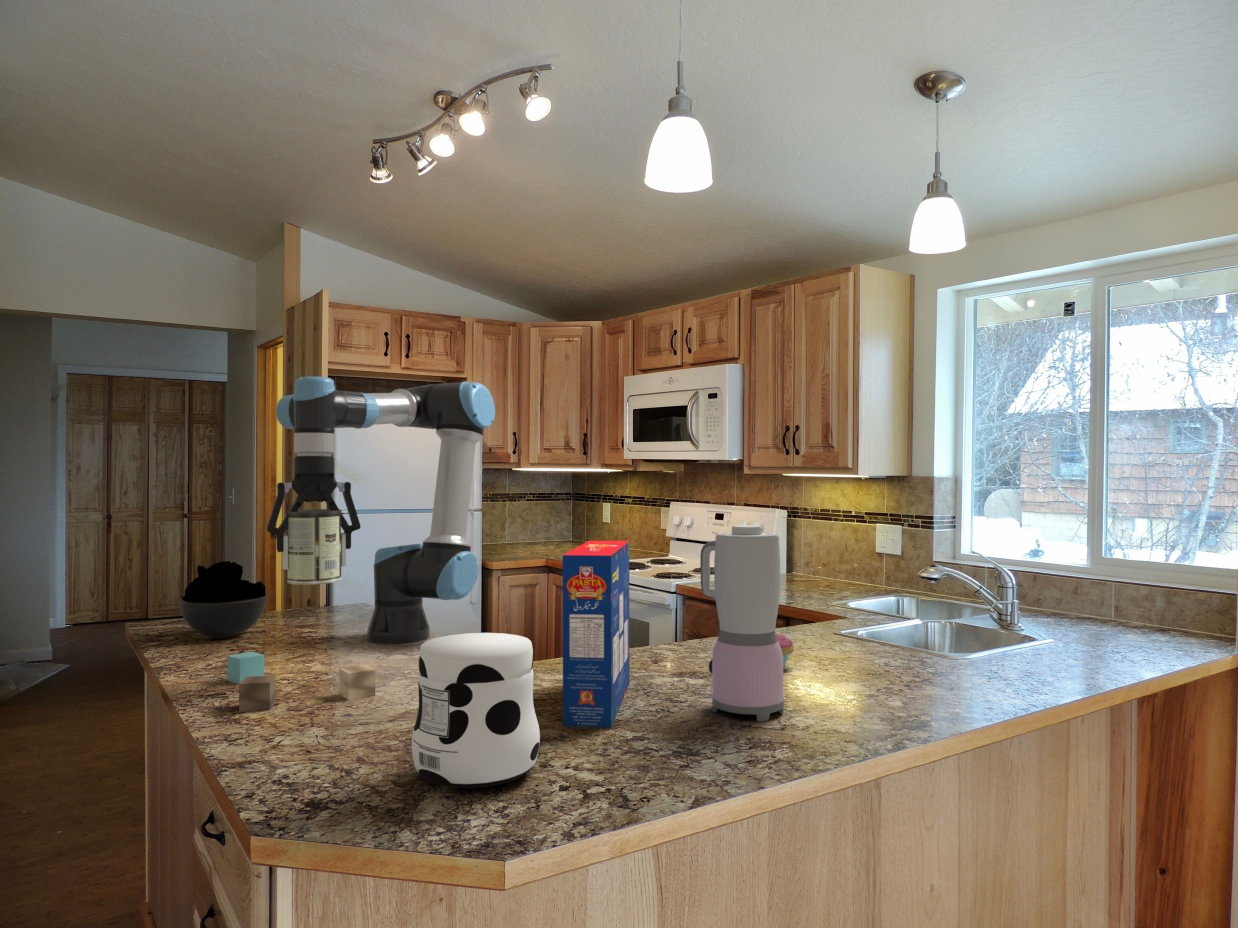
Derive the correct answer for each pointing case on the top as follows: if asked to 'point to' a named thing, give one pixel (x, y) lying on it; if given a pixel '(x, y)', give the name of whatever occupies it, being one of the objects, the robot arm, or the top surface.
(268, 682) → the walnut cube
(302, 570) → the coffee can
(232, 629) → the bowl of black rocks
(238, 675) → the teal cube
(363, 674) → the oak cube
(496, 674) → the milk container
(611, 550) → the pasta box
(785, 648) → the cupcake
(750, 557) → the blender
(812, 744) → the top surface
